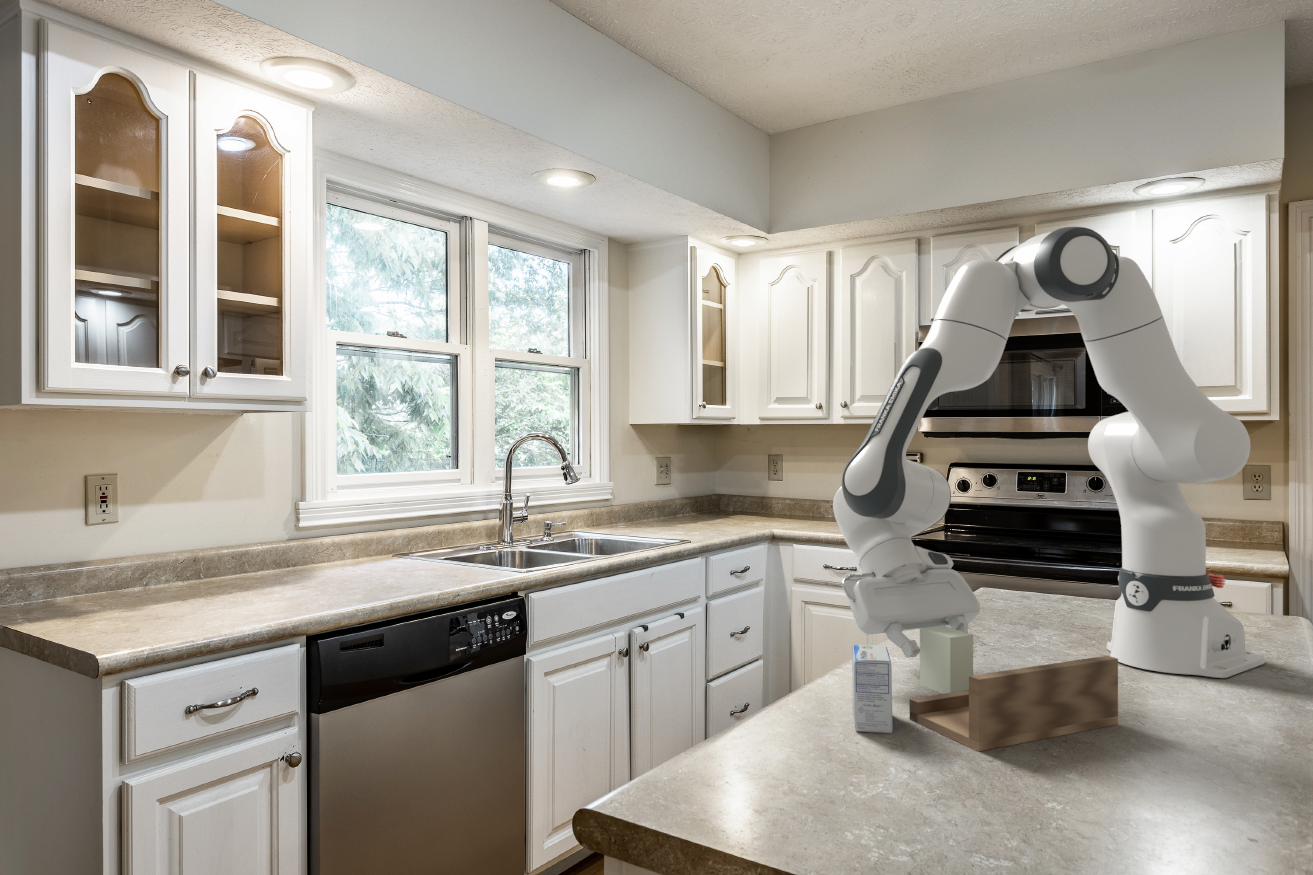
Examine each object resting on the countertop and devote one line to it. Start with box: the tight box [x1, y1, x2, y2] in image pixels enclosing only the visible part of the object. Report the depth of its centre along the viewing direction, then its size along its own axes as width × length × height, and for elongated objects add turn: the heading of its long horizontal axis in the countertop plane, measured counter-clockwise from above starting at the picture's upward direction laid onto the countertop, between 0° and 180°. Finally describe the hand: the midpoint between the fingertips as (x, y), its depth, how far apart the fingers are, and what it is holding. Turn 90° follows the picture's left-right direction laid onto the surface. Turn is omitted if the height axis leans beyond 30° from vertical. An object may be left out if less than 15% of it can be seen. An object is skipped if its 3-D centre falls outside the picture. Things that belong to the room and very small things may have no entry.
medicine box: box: [851, 644, 894, 735], centre depth 102 cm, size 8×4×9 cm, turn 168°
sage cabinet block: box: [919, 626, 974, 694], centre depth 115 cm, size 4×6×8 cm, turn 23°
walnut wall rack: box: [909, 655, 1119, 752], centre depth 102 cm, size 22×12×8 cm, turn 113°
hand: (940, 651), depth 116 cm, fingers open, 8 cm apart
